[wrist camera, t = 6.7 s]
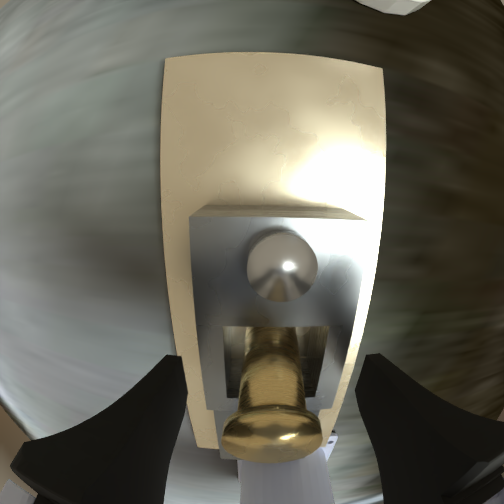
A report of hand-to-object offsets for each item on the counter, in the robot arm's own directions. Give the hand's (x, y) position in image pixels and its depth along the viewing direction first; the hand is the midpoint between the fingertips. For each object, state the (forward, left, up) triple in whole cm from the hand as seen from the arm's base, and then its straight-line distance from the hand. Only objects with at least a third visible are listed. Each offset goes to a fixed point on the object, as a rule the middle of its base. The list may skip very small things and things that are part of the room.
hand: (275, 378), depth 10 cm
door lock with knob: (0, 0, -5) cm, 5 cm away
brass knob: (0, 0, -4) cm, 4 cm away
